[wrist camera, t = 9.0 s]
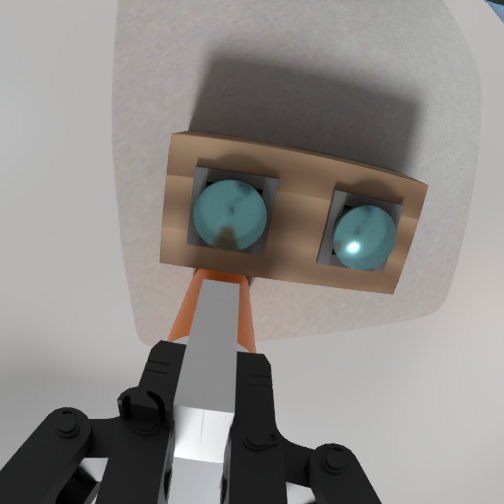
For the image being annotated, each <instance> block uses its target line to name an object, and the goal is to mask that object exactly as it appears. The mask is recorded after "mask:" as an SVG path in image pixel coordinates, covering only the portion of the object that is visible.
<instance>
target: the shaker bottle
mask: <svg viewBox="0 0 504 504" xmlns="http://www.w3.org/2000/svg"><path fill="white" fill-rule="evenodd" d="M203 279H207V280H214V281H221V282H228V283H234V284H240V289H239V312H238V336H237V351H241V352H249V353H256V348H255V339H254V330H253V321H252V312H251V303H250V294H249V285H248V280H247V277H246V275H239V274H232V273H225V272H218V271H212V270H205V269H198V270H197V271H196V273H195V275H194V276H193V279H192V281H191V284H190V286H189V288H188V291H187V293H186V296H185V298H184V300H183V303H182V305H181V308H180V310H179V313H178V315H177V317H176V320H175V322H174V325H173V327H172V330H171V332H170V335H169V337H168V340H167V341H168V342H174V343H180V344H186V345H187V342H188V338H189V334H190V329H191V325H192V321H193V317H194V313H195V309H196V305H197V301H198V297H199V293H200V289H201V285H202V282H203Z"/></svg>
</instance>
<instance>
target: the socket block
mask: <svg viewBox="0 0 504 504" xmlns="http://www.w3.org/2000/svg"><path fill="white" fill-rule="evenodd" d="M225 179H236V180H241V181H244V182H246V183H248V184H250V185H251V186H253V187H254V188H255V189H257V191H258V192H259V193H260V195H261V197H262V198H263V200H264V203H265V206H266V212H267V221H266V225H265V228H264V231H263V233H262V234H261V236H260V237H259V238H258V240H257V241H256V242H254V243H253V244H252V245H250V246H248V247H246V248H244V249H241V250H236V251H224V250H220V249H217V248H215V247H213V246H211V245H209V244H208V243H207V242H205V241H204V240H203V239H202V238H201V236H200V235H199V233H198V231H197V230H196V227H195V224H194V217H193V216H194V207H195V204H196V202H197V200H198V198H199V196H200V195H201V193H202V192H203V191H204V190H205V189H206V188H207V187H208V186H209V185H211V184H213V183H214V182H217V181H220V180H225ZM427 188H428V185H427V184H425V183H422V182H420V181H418V180H415V179H413V178H411V177H408V176H406V175H403V174H401V173H399V172H396V171H393V170H389V169H386V168H382V167H378V166H375V165H371V164H367V163H363V162H359V161H355V160H351V159H347V158H343V157H338V156H334V155H330V154H325V153H321V152H316V151H311V150H306V149H302V148H297V147H291V146H286V145H281V144H275V143H270V142H264V141H258V140H252V139H246V138H239V137H232V136H225V135H218V134H210V133H202V132H194V131H184V132H178V133H173V134H171V141H170V149H169V157H168V166H167V175H166V185H165V195H164V206H163V219H162V232H161V248H160V263H166V264H172V265H179V266H185V267H192V268H198V269H205V270H212V271H218V272H225V273H232V274H239V275H246V276H253V277H260V278H267V279H275V280H282V281H289V282H297V283H304V284H312V285H320V286H328V287H335V288H343V289H351V290H360V291H368V292H376V293H385V294H394V291H395V288H396V286H397V283H398V280H399V278H400V275H401V272H402V269H403V266H404V264H405V261H406V258H407V255H408V252H409V249H410V246H411V243H412V240H413V237H414V234H415V230H416V227H417V224H418V220H419V217H420V214H421V210H422V207H423V203H424V199H425V196H426V192H427ZM362 204H370V205H374V206H377V207H379V208H381V209H382V210H384V211H385V212H386V213H387V214H388V215H389V216H390V217H391V218H392V220H393V222H394V224H395V228H396V242H395V245H394V248H393V250H392V252H391V254H390V255H389V256H388V258H387V259H386V260H385V261H384V262H382V263H381V264H380V265H378V266H376V267H374V268H371V269H368V270H355V269H352V268H349V267H347V266H346V265H344V264H343V263H342V262H341V261H340V259H339V258H338V257H337V255H336V253H335V251H334V249H333V245H332V233H333V229H334V226H335V224H336V222H337V221H338V219H339V218H340V217H341V215H342V212H343V208H344V205H348V206H353V207H354V206H357V205H362Z"/></svg>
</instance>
